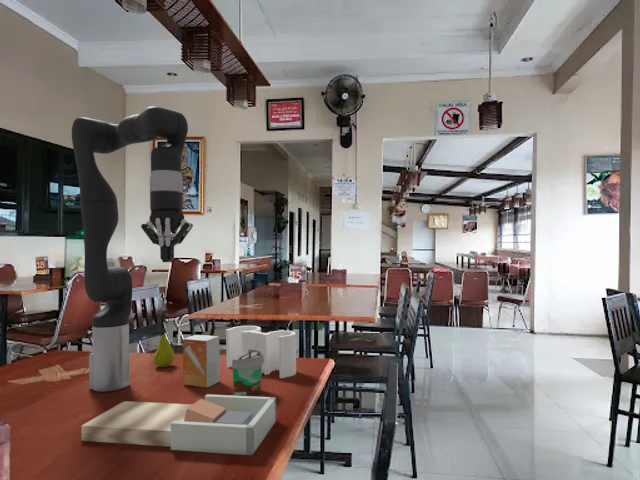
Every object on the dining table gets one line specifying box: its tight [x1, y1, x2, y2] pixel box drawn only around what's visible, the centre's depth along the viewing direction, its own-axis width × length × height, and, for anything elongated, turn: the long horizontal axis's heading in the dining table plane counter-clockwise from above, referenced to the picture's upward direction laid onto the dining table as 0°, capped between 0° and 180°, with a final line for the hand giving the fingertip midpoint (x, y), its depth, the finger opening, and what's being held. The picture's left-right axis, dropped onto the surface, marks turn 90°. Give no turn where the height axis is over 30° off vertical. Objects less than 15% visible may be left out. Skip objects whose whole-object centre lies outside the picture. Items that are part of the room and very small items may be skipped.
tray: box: [170, 394, 277, 456], centre depth 90 cm, size 16×16×5 cm
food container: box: [231, 349, 264, 397], centre depth 116 cm, size 12×6×10 cm, turn 168°
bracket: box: [225, 325, 297, 379], centre depth 138 cm, size 25×10×12 cm, turn 54°
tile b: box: [213, 411, 252, 425], centre depth 90 cm, size 6×6×3 cm
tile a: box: [184, 398, 226, 423], centre depth 91 cm, size 6×6×3 cm
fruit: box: [153, 330, 176, 368], centre depth 143 cm, size 6×6×12 cm
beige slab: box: [80, 400, 193, 448], centre depth 94 cm, size 20×14×3 cm
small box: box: [182, 334, 221, 389], centre depth 124 cm, size 8×6×13 cm
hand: (167, 261), depth 107 cm, fingers closed
